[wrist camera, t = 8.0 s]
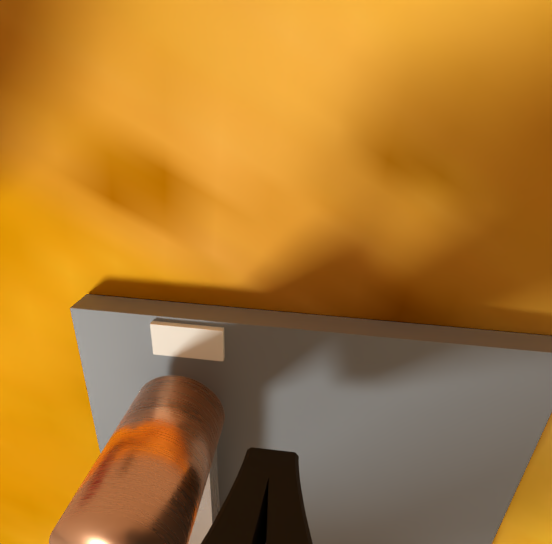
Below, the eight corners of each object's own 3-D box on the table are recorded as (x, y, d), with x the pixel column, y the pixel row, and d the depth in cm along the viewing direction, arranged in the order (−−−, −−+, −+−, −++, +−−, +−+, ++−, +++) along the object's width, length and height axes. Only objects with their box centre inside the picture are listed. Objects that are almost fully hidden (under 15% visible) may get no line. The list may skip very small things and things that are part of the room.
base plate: (445, 605, 19) (456, 647, 17) (136, 560, 20) (121, 596, 19) (558, 336, 12) (590, 368, 11) (87, 294, 13) (58, 317, 12)
